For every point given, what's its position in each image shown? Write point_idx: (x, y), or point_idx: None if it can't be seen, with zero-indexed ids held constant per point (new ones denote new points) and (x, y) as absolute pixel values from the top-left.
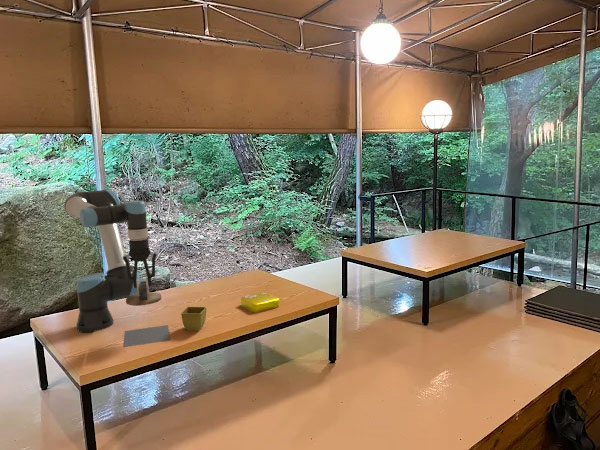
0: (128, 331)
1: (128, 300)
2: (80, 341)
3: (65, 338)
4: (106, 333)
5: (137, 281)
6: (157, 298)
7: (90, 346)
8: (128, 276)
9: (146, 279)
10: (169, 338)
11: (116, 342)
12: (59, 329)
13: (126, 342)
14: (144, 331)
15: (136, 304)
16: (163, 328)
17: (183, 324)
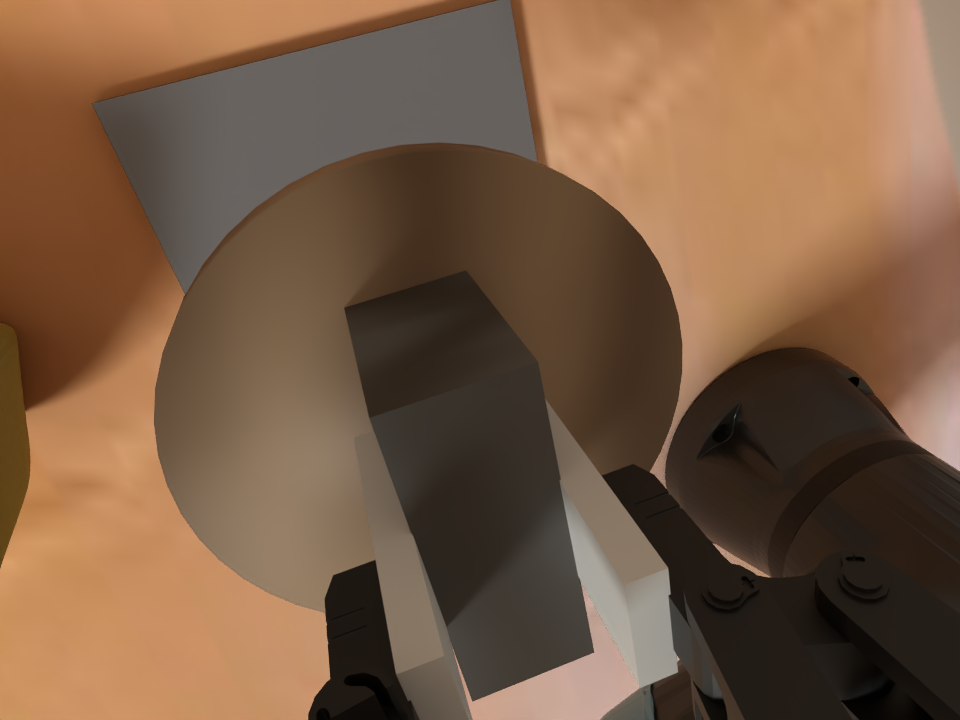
0: None
1: (641, 294)
2: (824, 205)
3: (906, 267)
4: (683, 331)
5: (634, 561)
6: (175, 359)
7: (757, 97)
8: (940, 609)
9: (432, 671)
10: (117, 147)
11: (588, 151)
12: (933, 402)
13: (506, 107)
14: None
15: (488, 149)
16: None
17: (5, 333)
